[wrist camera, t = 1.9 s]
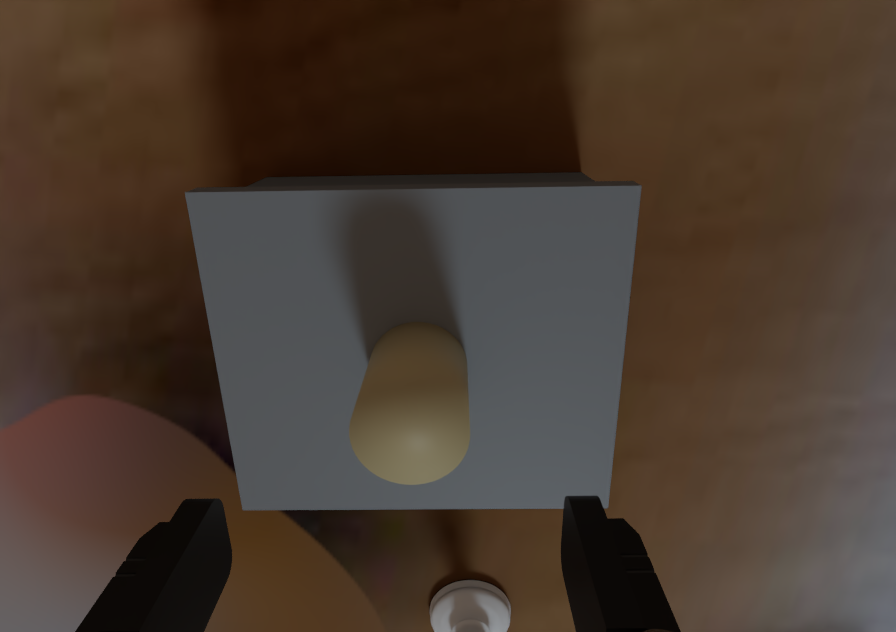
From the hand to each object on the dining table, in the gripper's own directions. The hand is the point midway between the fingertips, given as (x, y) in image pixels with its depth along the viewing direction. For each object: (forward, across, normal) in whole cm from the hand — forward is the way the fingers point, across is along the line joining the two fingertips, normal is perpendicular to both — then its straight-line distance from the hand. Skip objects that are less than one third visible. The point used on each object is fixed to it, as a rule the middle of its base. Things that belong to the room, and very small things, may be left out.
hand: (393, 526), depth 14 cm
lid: (+9, 0, 0) cm, 9 cm away
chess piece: (+16, -2, +20) cm, 25 cm away
